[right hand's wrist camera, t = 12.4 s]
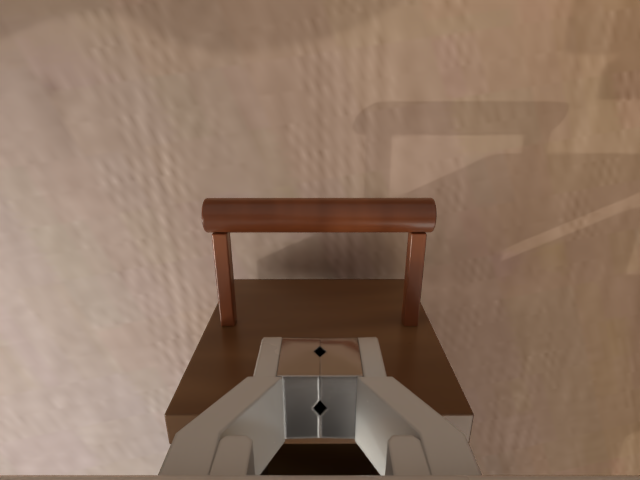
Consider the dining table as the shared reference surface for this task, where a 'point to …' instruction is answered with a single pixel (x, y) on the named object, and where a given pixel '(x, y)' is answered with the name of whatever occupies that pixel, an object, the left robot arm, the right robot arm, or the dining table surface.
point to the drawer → (318, 318)
